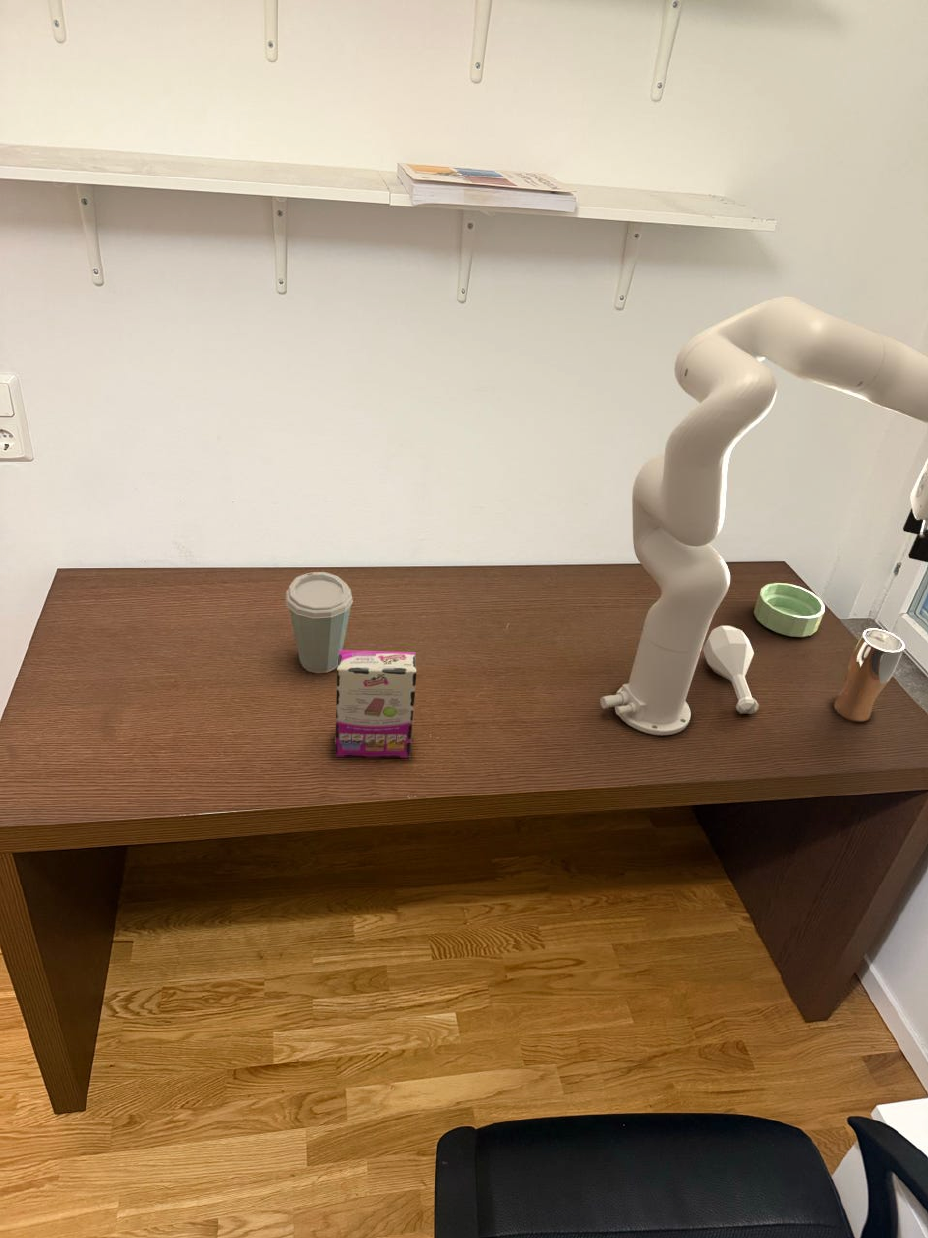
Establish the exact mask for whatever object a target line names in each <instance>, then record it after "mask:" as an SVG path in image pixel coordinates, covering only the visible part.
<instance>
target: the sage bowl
mask: <svg viewBox="0 0 928 1238" xmlns="http://www.w3.org/2000/svg"><path fill="white" fill-rule="evenodd" d="M825 608H826V607H825V604H824V602H823V601H822V600H821V597H818V596H817V595H816V594H815V593H813V592H812V591H810V590H807V589H805V588H803V587H801V586H798V585H794V584H791V583H784V582H773V583H767V584H766V585H764V586H763V587H761V588H760V590H759V594H758V597H757V599H756V602H755V605H754V609H753V614H754V616H755V618H756V620H757V621H758V622H759V623H760V624H761V625H763V626H764V627H765V628H767V629H769V630H771V631H773V632H775V633H776V634H780V635H784V636H787V637H795V638H796V637H797V638H805V637H808V636H812V635H813V634H814V633H816V632H817V631H818V630H819V627H820V624H821V621H822V619H823V616H824V614H825Z"/></svg>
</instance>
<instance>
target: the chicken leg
mask: <svg viewBox="0 0 928 1238" xmlns="http://www.w3.org/2000/svg"><path fill="white" fill-rule="evenodd" d="M702 651H703V654H704V657H705V661H706V664H707V665H709V667H710V668H711V671H713V672H714V673H715V674H717V675H719V676H721V677H723V678H724V679H726V680H728V681H729V682H731V683H732V686H733V689H734V692H735V695H736V697H737V703H736V705H735V709H736V711H737V712H738V713H739V714H740V715H742V714H743V715H744V714H749V715H752V714H754V713H756V712H757V711H758V709H759V707H760V705H759V703H758V702H757V700H756V699H755V698H754V697H752V694H751V690H750V688H749V685H748V683H747V679H746V674H747V672H748V670H749V667H750V665H751V663H752V660H753V657H754V655H755V651H754V649H753V647H752V644H751V642H750V639H749V638H748V636H746V634H745V632H743V630H742V629H739V628H736V627H734V626H731V625H720V626H717V627H715V628H713V629H711V632H710V634H709V636H708V637H707V640H706V642H705V644H704V645H703V647H702Z"/></svg>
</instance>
